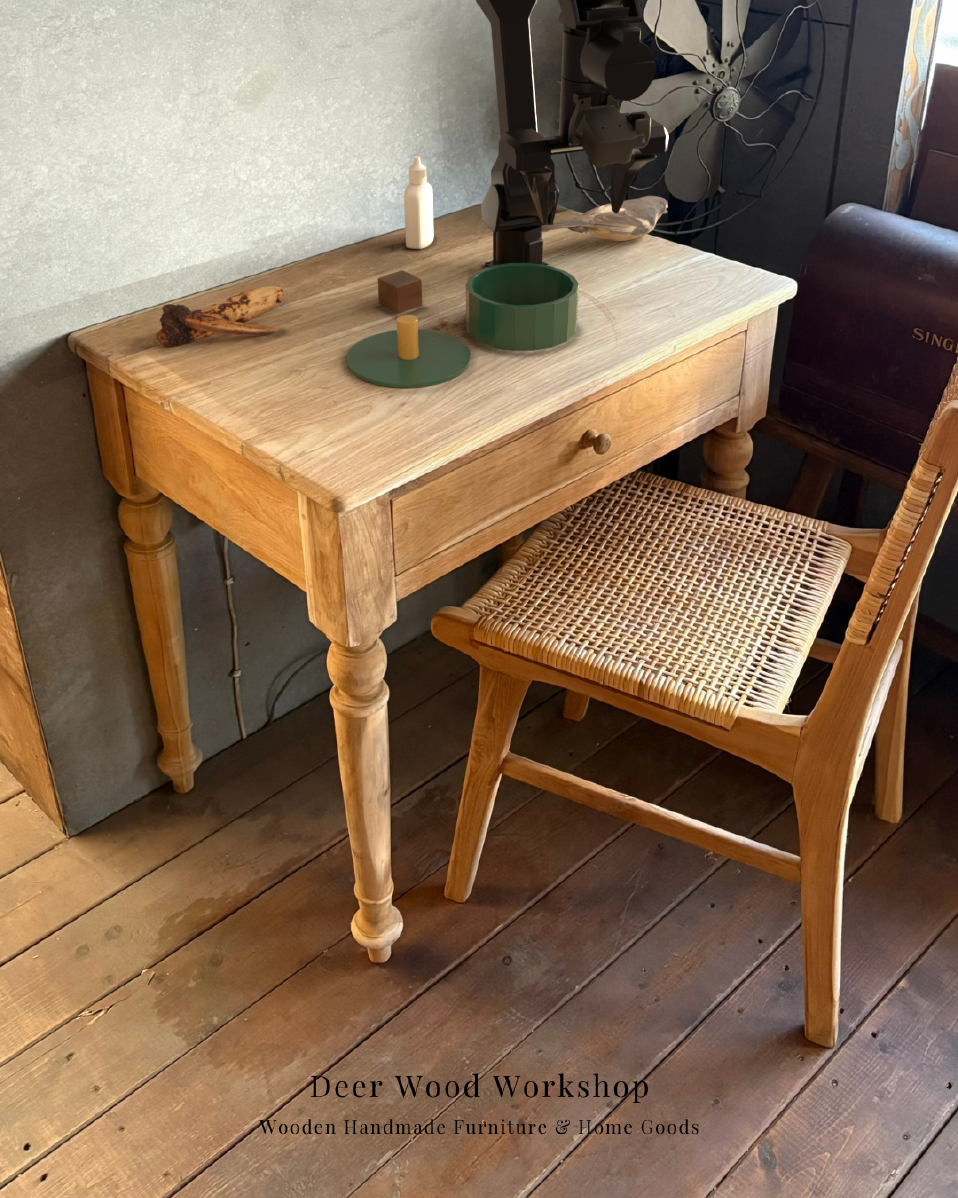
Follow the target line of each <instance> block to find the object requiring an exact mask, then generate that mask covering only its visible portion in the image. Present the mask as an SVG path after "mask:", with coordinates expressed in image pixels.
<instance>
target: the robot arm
mask: <svg viewBox="0 0 958 1198" xmlns="http://www.w3.org/2000/svg"><path fill="white" fill-rule="evenodd" d="M475 2H476V4H477V6H478V7H479V9H480V10H481V11H482V13H483V14H484V16H485V17H486V19H487V20H488V22H489V23H490V30H491V38H492V39H491V41H492V53H493V64H494V65H493V66H494V74H495V77H494V78H495V89H496V100H497V101H496V102H497V114H498V125H499V136H500V139H499V140H498V154H497V157H496V158H495V161H494V163H493V165H492V168H491V170H490V183H491V184H490V186H489V189H488V190H487V192H486V195H485V196H484V198H483V199H482V202H481V204H480V212H481V221H482V223H483V224H484V225H485V226H487V228H489V230H490V231H492V239H493V240H492V260H489V261H486V262H484V268H487V267H490V266H494V265H501V264H508V263H534V264H542V265H548V266H550V264H549V263H547V262H545V261H543V256H544V255H543V253H544V252H543V250H544V239H543V238H542V236H543V232H542V225H553V222H555V218H556V212H557V207H558V204H559V199H560V190H559V185H558V183H557V180H556V174H555V173H556V172H555V170H556V168H555V163H554V161H553V159H552V156H554V155H563V154H571V153H579V152H584V153H585V155H586V156H587V158H588V161H589V163H590V164H591V165H593V166H594V167H598V168H602V167H603V168H604V167H606V166H607V165H611V168H610V169H611V173H610V175H611V176H610V203H611V207H612V212H614V213H615V214H616V213H619V211H620V209H621V206H622V204H623V202H624V201H626V197H627V195H628V193H629V190H630V188H631V186H632V184H633V181H634V180H635V178H636V176H637V174H638V172H639V171H640V169H641V168H642V167H644V166H645V165H646V164H647V163H650V162H653V161H655V160H656V158H657V154H659V155H660V154H665V153H666V152H667V151H668V146H669V145H668V144H669V133H668V129H667V128H666V127H665V126H664V124H661V123H660V122H658V121H657V120H655V119H653V118H652V117H651V116H650V114H649V113H648V111H646V110H642V111H633V112H621V109H620V101H622V102H623V101H624V102H631V101H634V100H636V99H638V98H640V97H641V96H643V95H644V94H645V93H646V92H647V91H648V89H649V88H650V86H651V85H652V84H653V81H654V78H655V74H656V71H657V70H656V68H657V65H656V64H657V63H656V61H655V57H654V54H653V52H652V50H651V48H650V47H649V46H648V44H646V43H644V42H643V41H641V34H642V33H641V32H642V31H641V28H640V27H639V26H637V25H641V24H643V19H644V17H643V14H642V13H643V12H642V9H643V7H644V3H643V0H557V3H558V5H559V7H560V11H561V12H560V13H559V15H558V18H557V20H558V22H559V24H561V25H563V27H562V28H563V30H562V47H561V48H562V50H561V51H562V52H561V73H560V75H561V76H560V80H558V81H555V92H556V93H558V94H559V95H560V96H559V118H558V119H554V124H553V125H554V126H553V127H554V128H553V129H554V131H556V132H557V133H558V135H553V136H543V135H542V134H540V133H539V132H538V121H537V109H536V108H537V107H536V95H535V80H534V79H535V78H534V68H533V67H534V66H533V54H532V52H533V51H532V41H531V39H532V38H531V25H530V18H531V16H532V13H533V11H534V8H535V6H536V5H537V2H538V0H475Z"/></svg>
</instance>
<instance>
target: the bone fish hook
mask: <svg viewBox="0 0 958 1198" xmlns="http://www.w3.org/2000/svg"><path fill="white" fill-rule="evenodd" d="M284 300H285V297H284V289H283V288H282V287H281V286H280V285H265V286H261V287H257V288H254V289H250V290H246V291H242V292H240V293H238V294H236V295H233V296H230V297H229V298H227V299H225V300H222V301H221V302H219V303H215V304H212V305H209V306H207V307H205V308H203V309H202V308H197V309H194V310H191V309H190V308H189V307H187V306H186V305H183V304H173V303H168V304H164V305H163V306H162V309H161V310H162V314H161V316H160V318H159V322H160V325H161V328H160V330H158V331H157V332H156V335H155V338H156V340H157V342H158V343H159V344H160V345H161V346H163V347H177V346H178V347H179V346H183V345H187V344H188V345H189V344H191V343H193V342H195V341H197V340H199V339H202V338H207V337H211V336H212V335H214V334H222V335H229V336H230V335H231V336H246V337H264V336H268V335H272V334H274V333H276V332H278V331H279V329H280V328H279V327H271V326H265V325H262V324H253V323H247V322H248V321H250V320H252V319H254V318H256V317H259V316H261V315H262V314H263V313H266V312H267V311H269V310H271V309H273V308H274V307H276V306H277V303H278V304H281V303H282V302H283V301H284Z"/></svg>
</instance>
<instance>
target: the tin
mask: <svg viewBox="0 0 958 1198" xmlns="http://www.w3.org/2000/svg"><path fill="white" fill-rule="evenodd" d="M579 291H580V283H579V282H578V280H577V279H576V277H575V276H574V275H573V274H571V273H569V272H568V271H566V270H564V269H562V268H558V267H554V266H551V265H549V266H548V265H542V264H534V263H508V264H501V265H494V266H490V267H487V268H486V267H484V268H482V269H479V270H477V271H475V272H474V273H473V274H471V275H470V276H468V278H467V281H466V282H465V329H466V331H467V333H468V335H469V336H470V337H471V338H472V339H474V340H475V341H476V342H478V343H480V344H483V345H485V346H488V347H491V348H493V349H498V350H506V351H511V352H530V351H531V352H534V351H539V350H540V351H541V350H546V349H552V348H555V347H557V346H559V345H562V344H565V343H567V342H568V341H569V340H571V338H573V337H574V336H575V335H576V332H577V326H578V310H579V309H578V308H579V293H580V292H579Z"/></svg>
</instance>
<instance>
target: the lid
mask: <svg viewBox="0 0 958 1198" xmlns="http://www.w3.org/2000/svg"><path fill="white" fill-rule="evenodd" d="M418 319H419V318H418V317H417V316H415V315H411V314H403V315H400V316H398V317H396V329H394V330H389V331H383V332H379V333H375V334H372V335H369V336H366V337H365V338H362V339H361V340H359V341H357V342H356V343H354V344H353V345H352V346H351V347H350V348H349V350H348V351H347V354H346V365H347V368H348V370H349V371H350V372H351V374H353V375H354V376H355V377H357V378H358V379H360V380H361V381H364V382H367V383H370V384H373V385H376V386H381V387H385V388H386V387H387V388H393V389H396V388H397V389H413V388H424V387H430V386H435V385H440V384H443V383H445V382H448V381H451V380H453V379H455V378H457V377H459V376H460V375H462V374H463V373H464V372H466V370H467V369H468V367H469V366H470V363H471V352H470V351H471V350H470V349H469V347H468V346H467V345H466V344H465V342H463V341H462V340H460V339H458V338H457V337H454V336H453V335H450V334H447V333H444V332H440V331H435V330H430V329H429V330H428V329H419V320H418Z"/></svg>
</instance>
